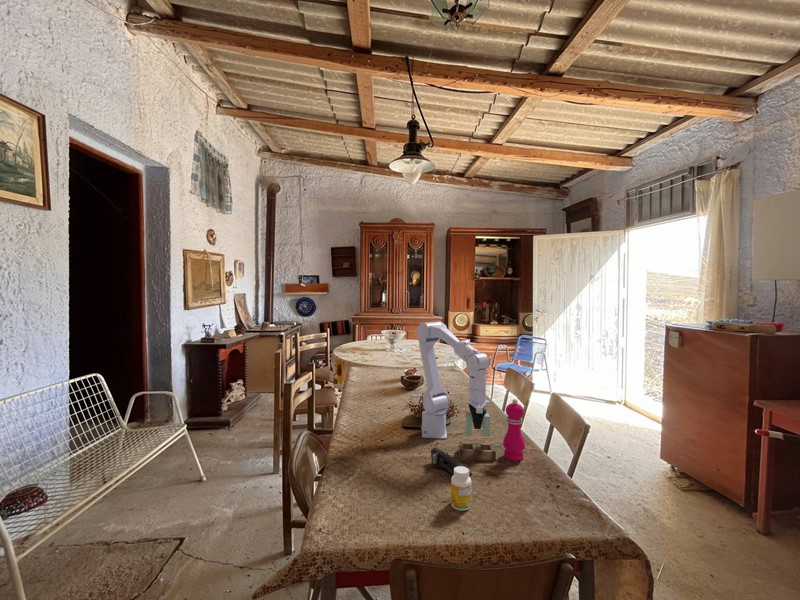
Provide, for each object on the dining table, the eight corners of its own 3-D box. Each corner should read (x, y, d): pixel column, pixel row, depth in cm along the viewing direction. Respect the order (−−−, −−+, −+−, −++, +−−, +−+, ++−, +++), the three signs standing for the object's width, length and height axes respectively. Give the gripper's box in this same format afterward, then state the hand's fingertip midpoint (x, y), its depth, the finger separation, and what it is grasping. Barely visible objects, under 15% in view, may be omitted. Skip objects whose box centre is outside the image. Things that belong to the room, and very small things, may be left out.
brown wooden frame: (459, 458, 127) (459, 449, 126) (458, 450, 133) (458, 441, 133) (495, 460, 125) (495, 451, 125) (493, 452, 132) (493, 443, 132)
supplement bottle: (448, 499, 103) (449, 465, 102) (468, 499, 103) (468, 464, 103) (453, 511, 97) (453, 475, 97) (473, 510, 98) (474, 474, 97)
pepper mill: (524, 453, 131) (526, 397, 130) (524, 463, 124) (526, 403, 123) (503, 450, 133) (504, 395, 132) (502, 459, 126) (503, 401, 125)
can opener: (425, 463, 124) (425, 446, 123) (442, 458, 127) (442, 442, 127) (460, 489, 108) (461, 470, 108) (478, 482, 112) (479, 464, 112)
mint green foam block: (465, 435, 129) (466, 415, 129) (465, 431, 132) (465, 412, 132) (489, 436, 128) (489, 416, 128) (488, 432, 131) (488, 413, 131)
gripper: (492, 394, 122) (491, 435, 122) (486, 382, 136) (486, 419, 137) (470, 393, 123) (469, 434, 123) (467, 382, 137) (466, 418, 138)
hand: (476, 426), depth 130 cm, fingers closed on mint green foam block, 3 cm apart
